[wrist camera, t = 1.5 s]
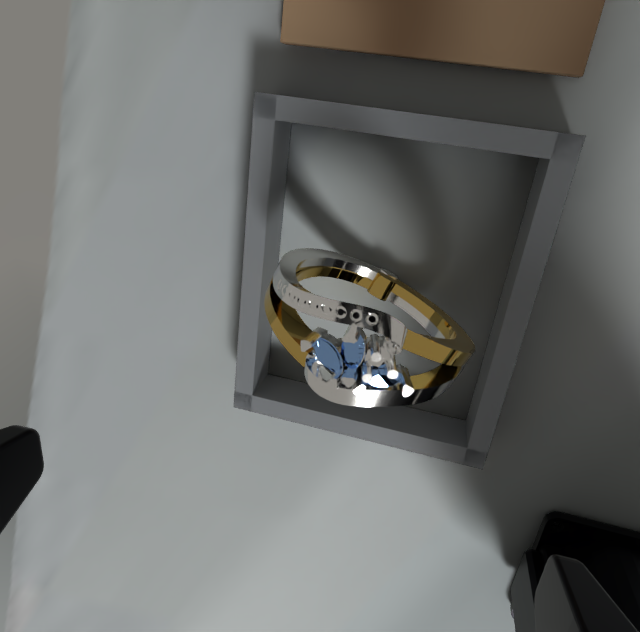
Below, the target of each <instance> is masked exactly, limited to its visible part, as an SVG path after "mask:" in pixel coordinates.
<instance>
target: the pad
mask: <svg viewBox="0 0 640 632" xmlns="http://www.w3.org/2000/svg"><path fill="white" fill-rule="evenodd" d="M604 3H605V0H284V3H283V15H282V28H281V40H280V42H282V43H284V44H288V45H297V46H306V47H315V48H324V49H332V50H341V51H350V52H359V53H367V54H376V55H385V56H394V57H402V58H411V59H420V60H429V61H437V62H446V63H455V64H464V65H473V66H481V67H490V68H499V69H508V70H516V71H525V72H534V73H543V74H551V75H560V76H569V77H578V78H579V77H582V76H583V74H584V71H585V67H586V64H587V60H588V57H589V54H590V50H591V47H592V43H593V40H594V37H595V33H596V30H597V26H598V23H599V20H600V16H601V13H602V9H603V6H604Z"/></svg>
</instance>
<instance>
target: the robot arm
mask: <svg viewBox="0 0 640 632" xmlns="http://www.w3.org/2000/svg"><path fill="white" fill-rule="evenodd" d="M43 468H44V461H43V455H42V449H41V442H40V436H39V434H38V432H37V431H36V430H34V429H32V428H28V427H23V426H19V425H13V426H9V427H6V428H3V429H0V534H1V532H2V531H3V529H4V528H5V527H6V525H7V524H8V522H9V521H10V520H11V518H12V517H13V515H14V514H15V512H16V511H17V510H18V508H19V507H20V505H21V504H22V503H23V501H24V500H25V498H26V497H27V496H28V494H29V493H30V491H31V490H32V489H33V487H34V486H35V484H36V483H37V481H38V480H39V478H40V477H41V475H42V472H43ZM553 523H561V524H560V525H553ZM511 598H512V602H511V607H510V608H511V615H512V617H513V618H514V622H515V631H516V632H640V533H639V532H635V531H632V530H628V529H624V528H620V527H616V526H612V525H608V524H604V523H601V522H597V521H593V520H589V519H585V518H581V517H577V516H574V515H570V514H566V513H562V512H556V511H554V512H550V513H548V514H546V516H545V517H544V519H543V522H542V524H541V527H540V530H539V532H538V535H537V537H536V540H535V543H534V545H533V548H532V549H528V550H527V551H525V552H524V555H523V557H522V560H521V563H520V565H519V568H518V571H517V573H516V576H515V579H514V581H513V584H512V586H511Z"/></svg>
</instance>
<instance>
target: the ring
mask: <svg viewBox="0 0 640 632" xmlns="http://www.w3.org/2000/svg"><path fill="white" fill-rule="evenodd" d="M318 276H324V277H333V278H339V279H343V280H346V281H349V282H352V283H355V284H358V285H360V286H362V287H364V288H367V289H368V290H367V291H368V292H369V293H370V294H372V295H373V296H375V297H377V298H378V299H380V300H383V301H386V299H387V300H389V301H390V302H392V303H393V304H395V305H396V306H398V307H399V308H401V309H402V310H404V311H405V312H406V313H408V314H409V315H410V316H412V317H413V318H414V319H415V320H416V321H417V322H419V323H420V324H421V325H422V326H423V327H424V328H425V329H426V330H427V331H428V333H429V334H430V335H431V336H427V335H422V334H417V333H415V332H412V331H410V330H408V329H407V328H406V327H405V325H404V324H403V323H402V322H400V321H399V320H398V319H396V318H394V317H392V316H390V315H388V314H386V313H384V312H381V311H378V310H375V309H372V308H368V307H364V306H360V305H355V304H350V303H345V302H340V301H336V300H331V299H328V298H324V297H321V296H318V295H316V294H313V293H311V292H309V291H308V290H306V289H305V288H303V287H302V286H301V285H300V284H299V281H301V280H303V279H306V278H310V277H318ZM264 305H265V312H266V316H267V319H268V321H269V324H270V326H271V328H272V330H273V331H274V333H275V335H276V336H277V338H278V339H279V341H280V342H281V343H282V345H283V346H284V347H285V348H286V350H287V351H288V352H289V353H290V354H291V355H292V356H293V357H294V358H295V359H296V360H297V361H298V362H299V363H300V364H301V365H302V366H303V367H304V374H305V378H306V381H307V383H308V384H309V386H310V387H311V389H312V390H313V391H314V392H316V393H317V394H318V395H319V396H321V397H323V398H324V399H326V400H329V401H331V402H334V403H337V404H342V405H347V406H357V407H386V406H403V405H412V404H417V403H422V402H425V401H428V400H431V399H433V398H435V397H437V396H439V395H441V394H442V393H443V392H445V391H446V390H447V389H448V388H449V387H450V386H451V384H452V383H453V382H454V380H455V379H456V378H457V376H458V375H459V374H460V373H461V371H462V370H463V368H464V365H465V364H466V363H467V362H468V360H469V359H470V357H471V356H472V355H473V353H474V352H475V345H474V343H473V342H472V340H471V339H470V337H469V336H468V335H467V333H466V332H465V331H464V330H463V329H462V328H461V327H460V326H459V325H458V324H457V323H456V322H455V321H454V320H453V319H452V318H451V317H450V316H449V315H447V314H446V313H445V312H444V311H443V310H441V309H440V308H439V307H438V306H436V305H435V304H434V303H432V302H431V301H430V300H428V299H427V298H426V297H424V296H423V295H421V294H420V293H418V292H417V291H415V290H414V289H412V288H411V287H409V286H408V285H406V284H405V283H403V282H401V281H400V280H398V277H397V276H396V275H395V274H393V273H391V272H390V271H388V270H386V269H384V268H380V269H379V268H377V267H374V266H372V265H370V264H368V263H366V262H363V261H361V260H358V259H356V258H353V257H350V256H347V255H344V254H341V253H337V252H333V251H328V250H323V249H314V248H301V249H294V250H291V251H289V252H287V253H285V254H284V255H283V257H282V258H281V260H280V262H279V264H278V266H277V268H276V270H275V272H274V275H273V277H272V279H271V282H270V284H269V286H268V288H267V290H266V293H265V299H264ZM296 310H298V311H301V312H303V313H306V314H308V315H311V316H314V317H318V318H321V319H325V320H329V321H334V322H339V323H344V324H349V326H348V328H347V330H346V332H345V334H344V336H343V338H338V339H337V338H335V337H334V336H332V335H331V334H328V330H326V329H323V328H321V327H317V328H316V329H315V330H313V331H311V330H310V329H309V327H308V326H307V325H306V324H305V323H304V322H303V320H302V319H301V318H300V316H299V315H298V313H297V311H296ZM363 328H366V329H369V330H372V331H375V332H377V333H380V334H382V335H384V336H378V335H377V334H372V335H370V337H366V334H365V332H364V331H363ZM403 349H405V350H407V351H410V352H412V353H414V354H417V355H419V356H422V357H424V358H427V359H430V360H433V361H436V362H439V363H442V364H441V365H440V366H438V367H437V368H435V369H433V370H431V371H429V372H426V373H423V374H419V375H414V376H410V375H409V372H408V369H407V368H406V367H404V366H403V365H401V364H399V365H396V359H395V355H397V354H400V353H401V352H402V350H403ZM324 367H325V368H327V369H328V370H330V371H332V372H335V373H334V374H333V373H331V372H329V371H327V370H326V369H325V368H324Z"/></svg>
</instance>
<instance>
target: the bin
mask: <svg viewBox="0 0 640 632" xmlns="http://www.w3.org/2000/svg"><path fill="white" fill-rule="evenodd" d="M291 123H299V124H306V125H313V126H320V127H327V128H334V129H341V130H348V131H355V132H362V133H369V134H376V135H383V136H390V137H397V138H404V139H411V140H418V141H425V142H432V143H439V144H446V145H453V146H460V147H467V148H474V149H481V150H488V151H495V152H503V153H510V154H517V155H524V156H531V157H538V158H539V161H538V165H537V169H536V172H535V176H534V179H533V183H532V186H531V190H530V194H529V197H528V201H527V204H526V208H525V212H524V215H523V219H522V222H521V226H520V229H519V233H518V237H517V240H516V244H515V247H514V251H513V254H512V258H511V262H510V265H509V269H508V272H507V276H506V279H505V283H504V287H503V290H502V294H501V297H500V301H499V304H498V308H497V312H496V315H495V319H494V322H493V326H492V329H491V333H490V337H489V340H488V344H487V347H486V351H485V355H484V358H483V362H482V365H481V369H480V372H479V376H478V380H477V383H476V387H475V390H474V394H473V397H472V401H471V405H470V408H469V412H468V415H467V419H466V421H465V420H460V419H456V418H452V417H448V416H443V415H439V414H435V413H431V412H426V411H422V410H418V409H414V408H409V407H405V406H386V407H357V406H347V405H342V404H337V403H334V402H331V401H329V400H326V399H324V398H323V397H321V396H319V395H318V394H317V393H316V392H314V391H313V390H312V389H311V387H310V386H309V384H308V383H303V382H299V381H295V380H291V379H286V378H282V377H278V376H274V375H269V374H268V367H269V356H270V346H271V335H272V328H271V326H270V324H269V321H268V319H267V316H266V312H265V305H264V299H265V293H266V290H267V288H268V286H269V284H270V282H271V279H272V277H273V275H274V272H275V270H276V268H277V266H278V261H279V250H280V240H281V229H282V219H283V208H284V197H285V187H286V176H287V166H288V155H289V144H290V134H291ZM585 137H586V136H584V135H577V134H569V133H561V132H554V131H546V130H539V129H531V128H524V127H516V126H509V125H501V124H494V123H486V122H479V121H471V120H464V119H456V118H449V117H441V116H434V115H426V114H418V113H411V112H403V111H396V110H388V109H381V108H373V107H366V106H358V105H351V104H343V103H336V102H328V101H321V100H313V99H306V98H298V97H291V96H283V95H275V94H268V93H260V92H254V106H253V121H252V136H251V151H250V166H249V181H248V196H247V212H246V227H245V242H244V257H243V272H242V287H241V302H240V317H239V332H238V347H237V363H236V378H235V393H234V407H235V408H239V409H243V410H247V411H251V412H255V413H259V414H263V415H267V416H271V417H275V418H279V419H283V420H287V421H291V422H295V423H299V424H303V425H307V426H311V427H315V428H319V429H323V430H327V431H331V432H335V433H339V434H343V435H347V436H351V437H355V438H359V439H363V440H367V441H371V442H375V443H379V444H383V445H387V446H391V447H395V448H399V449H403V450H407V451H411V452H415V453H419V454H423V455H427V456H431V457H435V458H439V459H443V460H447V461H451V462H455V463H459V464H463V465H467V466H471V467H475V468H479V469H483V467H484V464H485V461H486V458H487V454H488V451H489V448H490V445H491V441H492V438H493V435H494V432H495V428H496V425H497V422H498V419H499V416H500V412H501V409H502V406H503V403H504V399H505V396H506V393H507V390H508V386H509V383H510V380H511V377H512V373H513V370H514V367H515V364H516V360H517V357H518V354H519V351H520V348H521V344H522V341H523V338H524V335H525V331H526V328H527V325H528V322H529V318H530V315H531V312H532V309H533V305H534V302H535V299H536V296H537V292H538V289H539V286H540V283H541V280H542V276H543V273H544V270H545V267H546V263H547V260H548V257H549V254H550V250H551V247H552V244H553V241H554V237H555V234H556V231H557V228H558V225H559V221H560V218H561V215H562V212H563V208H564V205H565V202H566V199H567V195H568V192H569V189H570V186H571V182H572V179H573V176H574V173H575V169H576V166H577V163H578V160H579V157H580V153H581V150H582V147H583V144H584V140H585Z"/></svg>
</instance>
